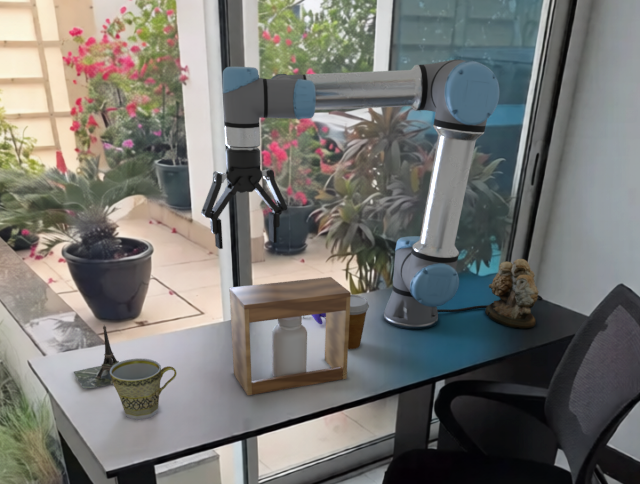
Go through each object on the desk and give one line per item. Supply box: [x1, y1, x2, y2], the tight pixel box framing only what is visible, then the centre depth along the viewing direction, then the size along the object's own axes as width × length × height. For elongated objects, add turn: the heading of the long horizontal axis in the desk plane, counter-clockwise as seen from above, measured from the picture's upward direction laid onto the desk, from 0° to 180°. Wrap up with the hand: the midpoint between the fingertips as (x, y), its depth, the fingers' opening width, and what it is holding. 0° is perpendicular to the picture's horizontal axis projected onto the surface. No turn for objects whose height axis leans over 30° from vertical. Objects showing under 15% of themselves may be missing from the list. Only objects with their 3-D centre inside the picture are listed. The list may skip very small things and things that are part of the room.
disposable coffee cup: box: [348, 294, 370, 350], centre depth 166 cm, size 10×10×12 cm
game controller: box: [302, 313, 326, 325], centre depth 181 cm, size 10×8×10 cm
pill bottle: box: [271, 316, 308, 378], centre depth 149 cm, size 8×8×15 cm
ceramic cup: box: [110, 358, 177, 421], centre depth 135 cm, size 13×10×10 cm
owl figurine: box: [484, 258, 539, 330], centre depth 185 cm, size 18×12×17 cm, turn 30°
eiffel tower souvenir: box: [73, 325, 120, 389], centre depth 147 cm, size 15×10×13 cm
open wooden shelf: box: [228, 276, 352, 396], centre depth 147 cm, size 11×24×21 cm, turn 114°
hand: (246, 244), depth 155 cm, fingers open, 13 cm apart
